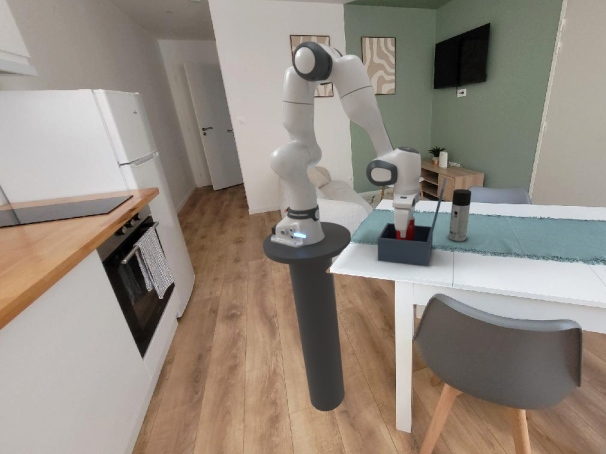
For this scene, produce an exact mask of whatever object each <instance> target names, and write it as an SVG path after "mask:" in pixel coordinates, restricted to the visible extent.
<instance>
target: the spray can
mask: <svg viewBox="0 0 606 454" xmlns="http://www.w3.org/2000/svg"><path fill="white" fill-rule="evenodd" d="M471 200H472V191H471V190H470V189H466V188H464V189H463V188H458V189H454V190H453V191H452V201H451V209H450V210H451V211H450V219H449V220H450V221H449V231H448V232H449V233H448V238H449V240H451V241H453V242H457V243H461V242H464V241H466V238H467V233H468V225H469V217H470V208H471Z"/></svg>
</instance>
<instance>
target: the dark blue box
mask: <svg viewBox="0 0 606 454" xmlns="http://www.w3.org/2000/svg"><path fill="white" fill-rule="evenodd" d="M431 228H432V226H431V225H430V226H428V225H417V224H415V228H414V241H409V240H399V239H396V229H395V223H392V222H386V224H385V225H384V228H382V230H381V232H380V234H379V236H378V237H377V261H380V262H387V263H397V264H405V265H412V266H413V265H414V266H421V267H429V262H430V259H431V253H432V249H433V236H434V233H433V234H432V238H431V242H428V240H429V236H430V232H431Z"/></svg>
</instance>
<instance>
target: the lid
mask: <svg viewBox="0 0 606 454" xmlns="http://www.w3.org/2000/svg"><path fill="white" fill-rule="evenodd" d="M446 184H447V177H444V178H443V182H442V184H441V185H442V186H441V190H440V194H439V197H438V201H437V204H436V208H435V211H434V212H435V213H434V217H433V221H432V225H431V227H432V228H431V232H430V236H429V240H428V242H431V238H432V234H433V235H434V230H435V227H436V223H437V219H438V216H439V215H438V214H439V211H440V208H441V203H442V199H443V195H444V191H445V187H446ZM432 239H433V238H432Z"/></svg>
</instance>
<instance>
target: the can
mask: <svg viewBox="0 0 606 454" xmlns="http://www.w3.org/2000/svg"><path fill="white" fill-rule="evenodd" d="M415 225H416V218H415V216H414V215H413V216H412V217H411V219H410V223H409V225H408V227H407V230H406V237H405V238H402V237H401V233H400V231H398V230H396V239H399V240H409V241H414V228H415Z"/></svg>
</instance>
